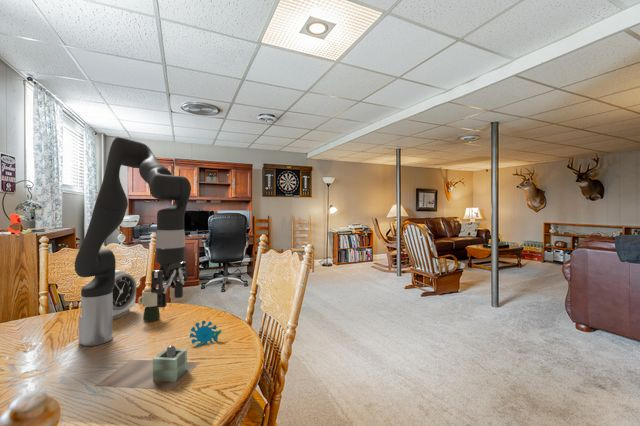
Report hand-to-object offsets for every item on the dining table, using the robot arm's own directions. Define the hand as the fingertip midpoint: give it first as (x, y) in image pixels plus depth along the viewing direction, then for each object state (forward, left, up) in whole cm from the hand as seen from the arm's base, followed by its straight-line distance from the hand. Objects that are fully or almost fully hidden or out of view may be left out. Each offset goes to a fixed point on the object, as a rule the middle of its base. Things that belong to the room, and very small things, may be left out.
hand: (170, 302), depth 87 cm
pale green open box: (0, 0, -21) cm, 21 cm away
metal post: (0, 0, -21) cm, 21 cm away
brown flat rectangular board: (-6, 0, -22) cm, 23 cm away
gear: (+1, +22, -22) cm, 31 cm away
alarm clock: (-52, +45, -22) cm, 72 cm away
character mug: (-33, +42, -22) cm, 58 cm away
